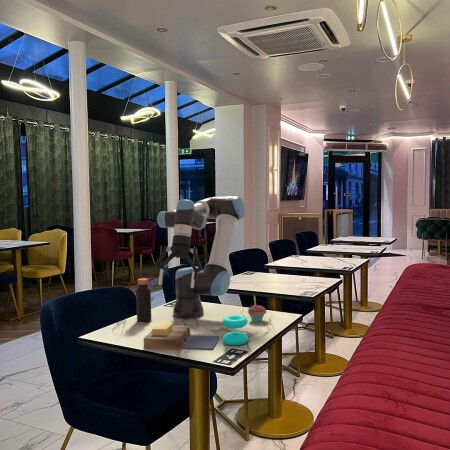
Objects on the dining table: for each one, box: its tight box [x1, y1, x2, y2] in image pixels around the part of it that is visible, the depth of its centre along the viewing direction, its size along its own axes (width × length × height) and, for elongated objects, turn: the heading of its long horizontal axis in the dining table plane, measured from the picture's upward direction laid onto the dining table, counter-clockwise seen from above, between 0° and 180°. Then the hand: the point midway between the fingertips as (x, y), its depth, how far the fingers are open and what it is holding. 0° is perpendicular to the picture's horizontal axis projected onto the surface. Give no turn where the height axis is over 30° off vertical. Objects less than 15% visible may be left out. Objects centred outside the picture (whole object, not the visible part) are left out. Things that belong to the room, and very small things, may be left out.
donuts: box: [222, 314, 249, 347], centre depth 183 cm, size 10×10×10 cm
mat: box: [180, 334, 221, 351], centre depth 184 cm, size 16×12×1 cm
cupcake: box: [247, 295, 267, 323], centre depth 214 cm, size 9×8×12 cm
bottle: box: [135, 277, 152, 323], centre depth 217 cm, size 7×7×20 cm
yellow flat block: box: [151, 322, 174, 335], centre depth 186 cm, size 9×6×2 cm, turn 171°
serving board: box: [143, 325, 191, 351], centre depth 186 cm, size 18×14×4 cm
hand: (176, 286), depth 190 cm, fingers open, 13 cm apart
